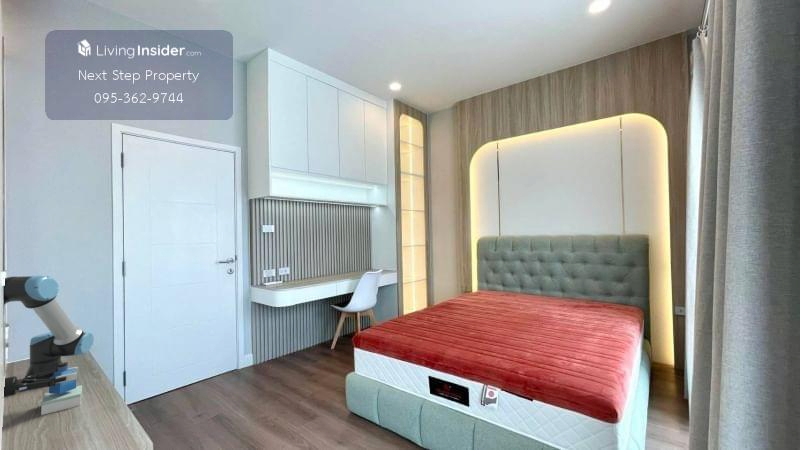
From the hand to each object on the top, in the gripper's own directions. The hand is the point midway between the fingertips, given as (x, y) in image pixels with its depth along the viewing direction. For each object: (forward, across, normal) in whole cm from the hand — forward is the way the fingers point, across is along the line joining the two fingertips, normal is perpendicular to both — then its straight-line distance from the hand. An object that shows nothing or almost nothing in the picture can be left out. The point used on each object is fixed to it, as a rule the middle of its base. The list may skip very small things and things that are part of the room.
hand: (77, 372), depth 153 cm
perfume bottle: (-5, 0, -7) cm, 8 cm away
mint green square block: (-5, 0, -13) cm, 14 cm away
